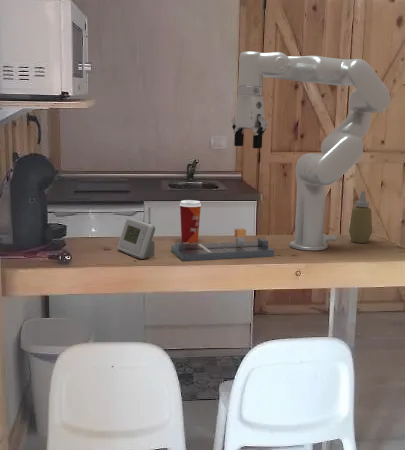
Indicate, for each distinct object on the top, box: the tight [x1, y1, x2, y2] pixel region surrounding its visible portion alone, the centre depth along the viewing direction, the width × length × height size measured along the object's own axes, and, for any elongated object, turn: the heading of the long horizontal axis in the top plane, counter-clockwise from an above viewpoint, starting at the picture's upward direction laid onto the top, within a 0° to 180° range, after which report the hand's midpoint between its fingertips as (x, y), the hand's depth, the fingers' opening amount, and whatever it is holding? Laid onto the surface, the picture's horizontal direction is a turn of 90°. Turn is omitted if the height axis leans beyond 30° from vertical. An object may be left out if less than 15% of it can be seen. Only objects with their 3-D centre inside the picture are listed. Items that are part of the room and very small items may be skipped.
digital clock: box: [117, 217, 156, 260], centre depth 208 cm, size 16×9×11 cm, turn 23°
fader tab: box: [234, 228, 247, 246], centre depth 213 cm, size 3×2×5 cm
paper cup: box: [179, 199, 202, 244], centre depth 228 cm, size 8×8×14 cm
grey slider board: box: [170, 237, 275, 262], centre depth 211 cm, size 30×14×4 cm, turn 107°
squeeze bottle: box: [348, 190, 373, 244], centre depth 233 cm, size 8×8×18 cm
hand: (247, 147), depth 210 cm, fingers open, 9 cm apart
